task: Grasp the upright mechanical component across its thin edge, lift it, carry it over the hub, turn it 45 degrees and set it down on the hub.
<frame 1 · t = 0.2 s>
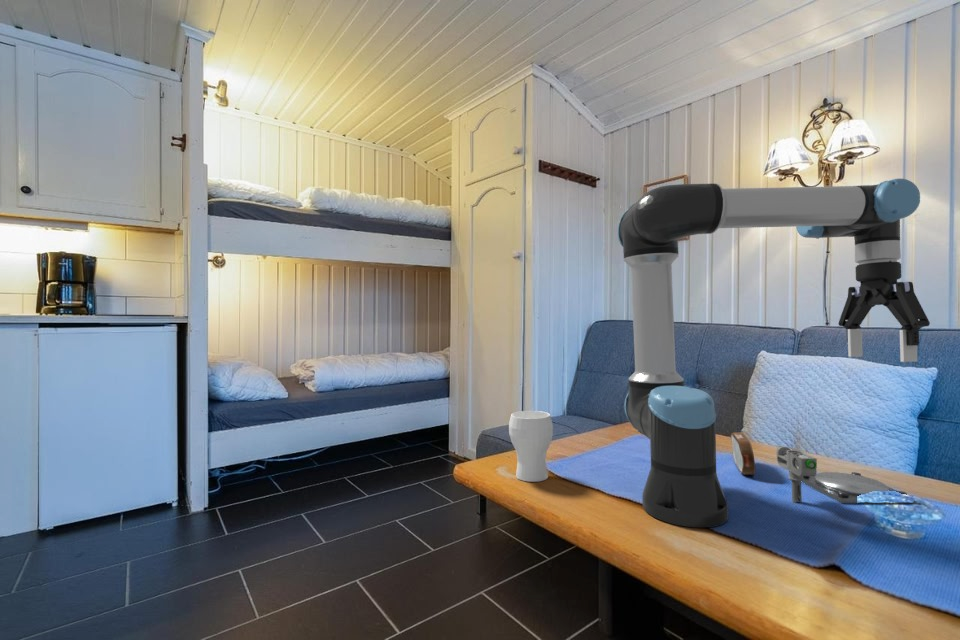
hand: (880, 359, 98), 28 cm above the table, fingers open, 13 cm apart
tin: (742, 470, 109), on the table
cup: (532, 477, 108), on the table
mechanical component: (796, 502, 89), on the table
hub: (850, 490, 95), on the table
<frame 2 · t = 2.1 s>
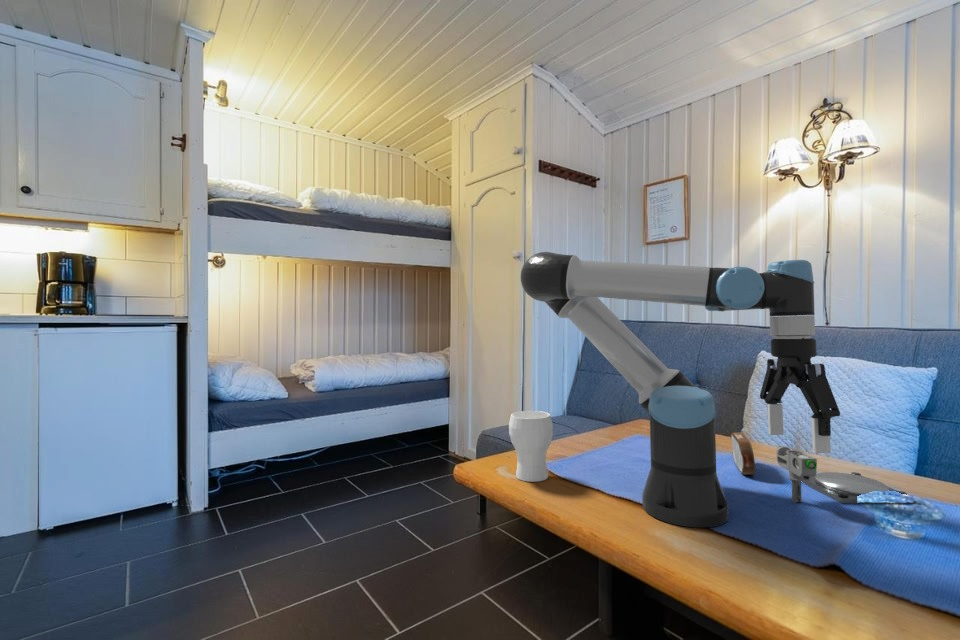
hand: (797, 443, 89), 12 cm above the table, fingers open, 13 cm apart
nothing on the table moved.
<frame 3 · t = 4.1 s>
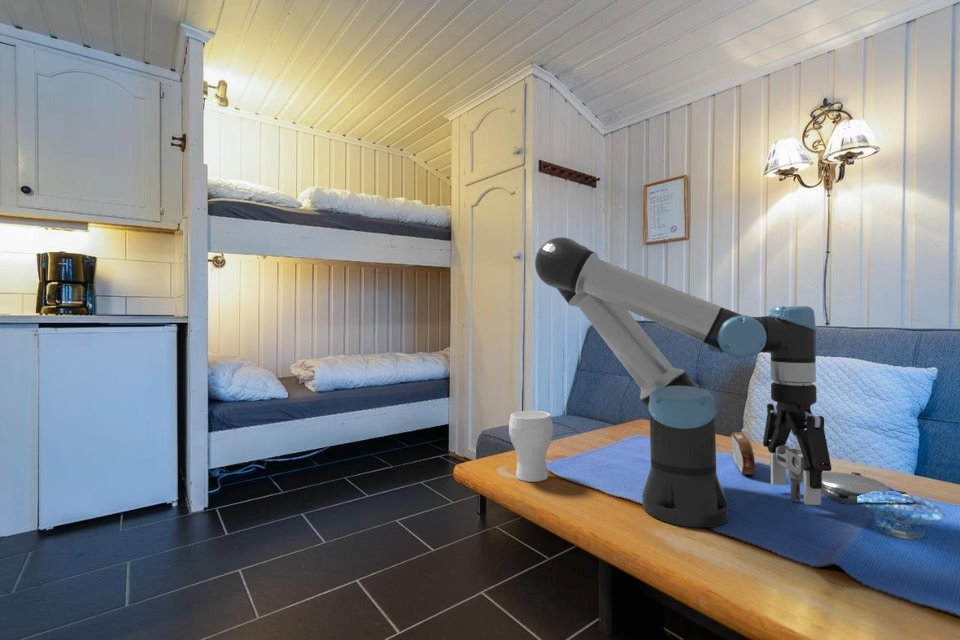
hand: (794, 493, 90), 2 cm above the table, fingers closed on mechanical component, 10 cm apart
mechanical component: (795, 501, 90), on the table, touching gripper
everything else where it was.
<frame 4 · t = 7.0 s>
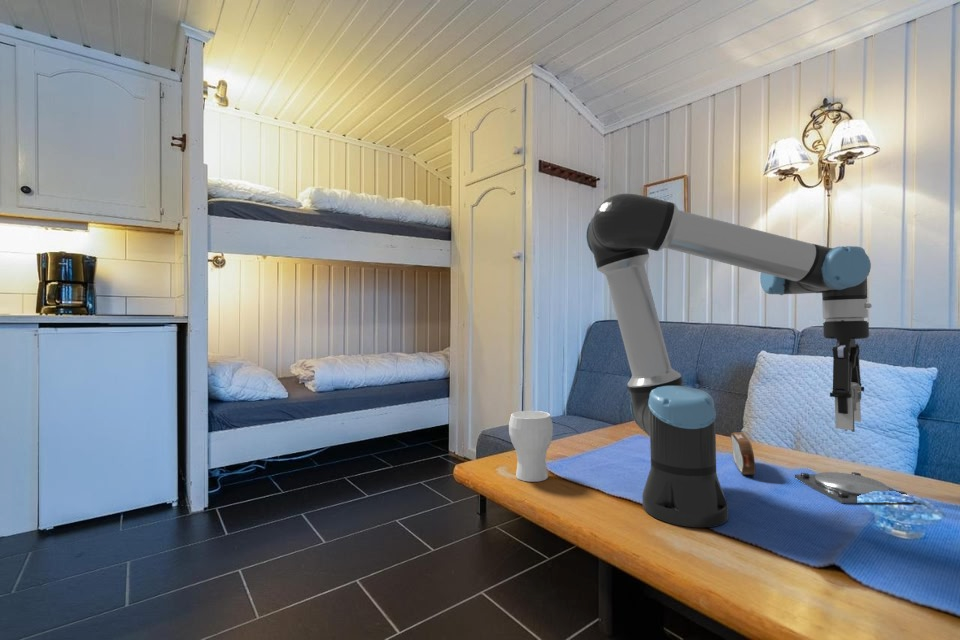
hand: (848, 424, 95), 14 cm above the table, fingers closed on mechanical component, 10 cm apart
mechanical component: (849, 431, 95), point 12 cm above the table, touching gripper
everything else where it was.
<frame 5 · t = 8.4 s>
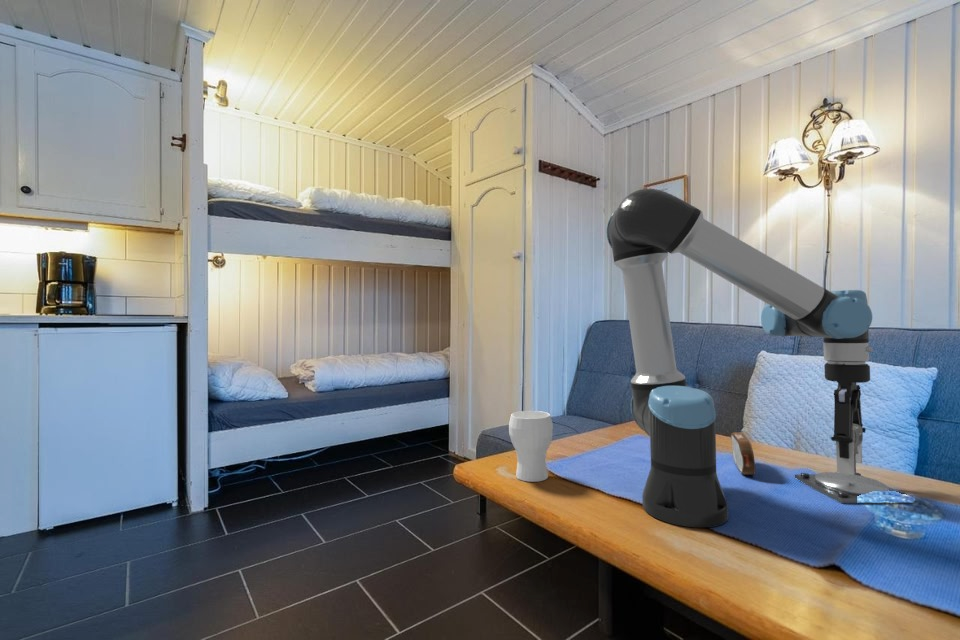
hand: (850, 467, 95), 5 cm above the table, fingers closed on mechanical component, 10 cm apart
mechanical component: (851, 474, 95), point 3 cm above the table, touching gripper
everything else where it was.
when the fingers open (4 cm above the table, at t = 9.7 s): mechanical component moves 3 cm, resting on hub.
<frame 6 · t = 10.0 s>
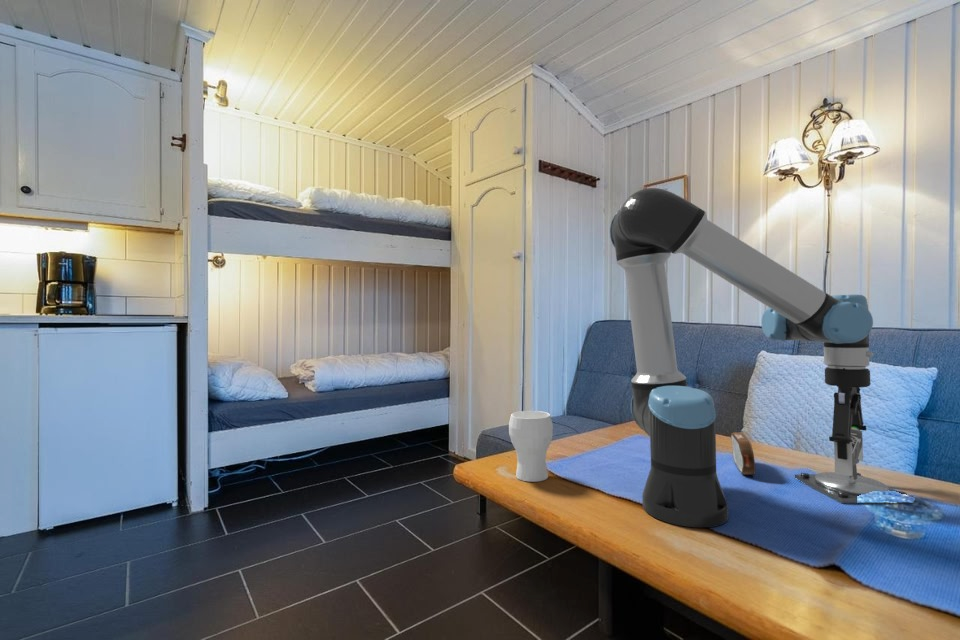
hand: (849, 466, 95), 5 cm above the table, fingers open, 13 cm apart
mechanical component: (852, 478, 96), point 2 cm above the table, touching gripper, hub
everything else where it was.
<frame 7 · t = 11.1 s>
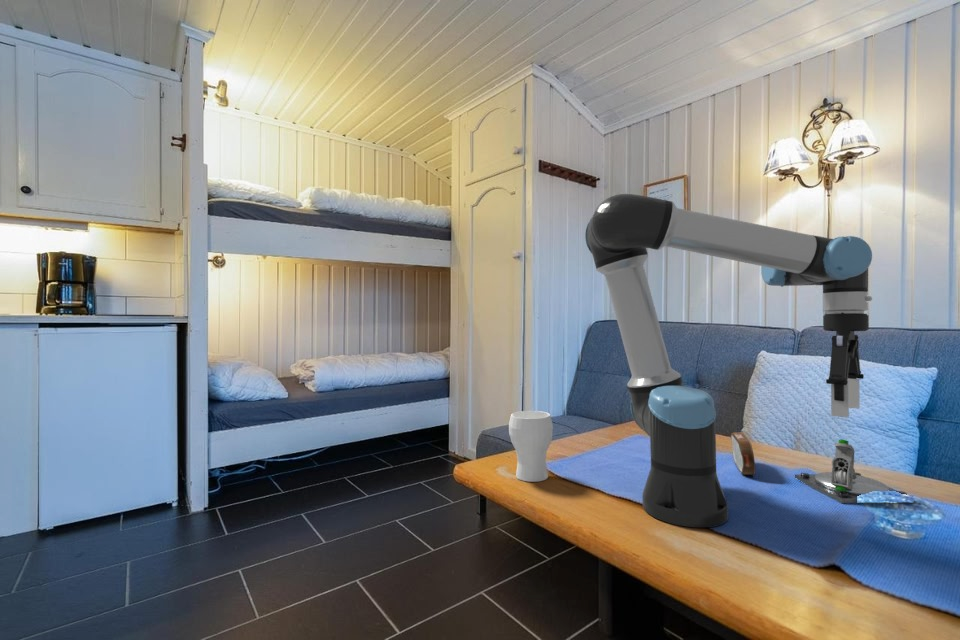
hand: (846, 412, 95), 17 cm above the table, fingers open, 13 cm apart
mechanical component: (852, 476, 96), point 2 cm above the table, touching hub
everything else where it was.
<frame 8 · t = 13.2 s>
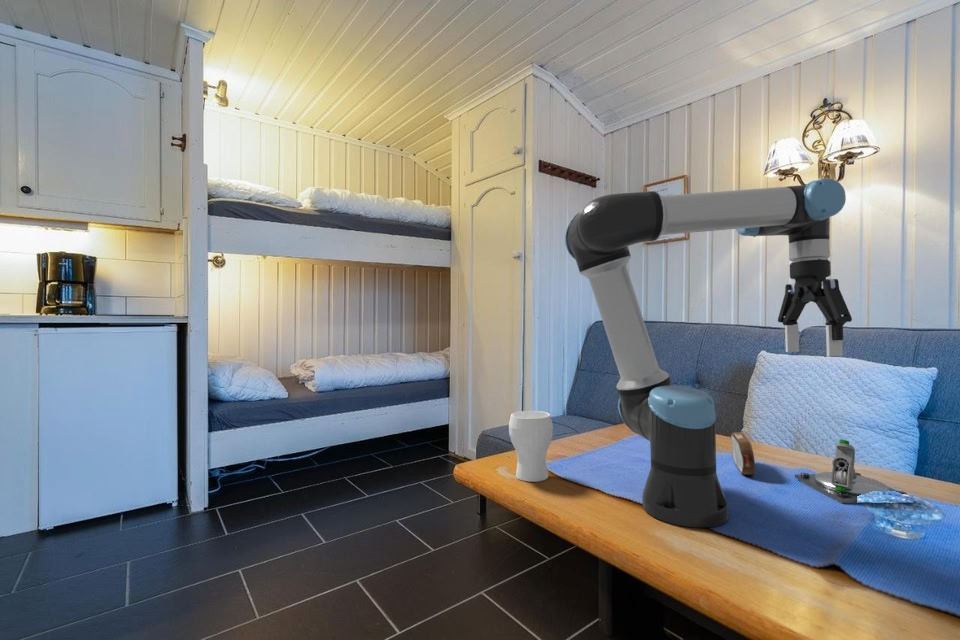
hand: (812, 354, 101), 29 cm above the table, fingers open, 13 cm apart
nothing on the table moved.
at the end: mechanical component 2.2 cm from the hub (horizontally); mechanical component touching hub; the gripper is holding nothing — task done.
